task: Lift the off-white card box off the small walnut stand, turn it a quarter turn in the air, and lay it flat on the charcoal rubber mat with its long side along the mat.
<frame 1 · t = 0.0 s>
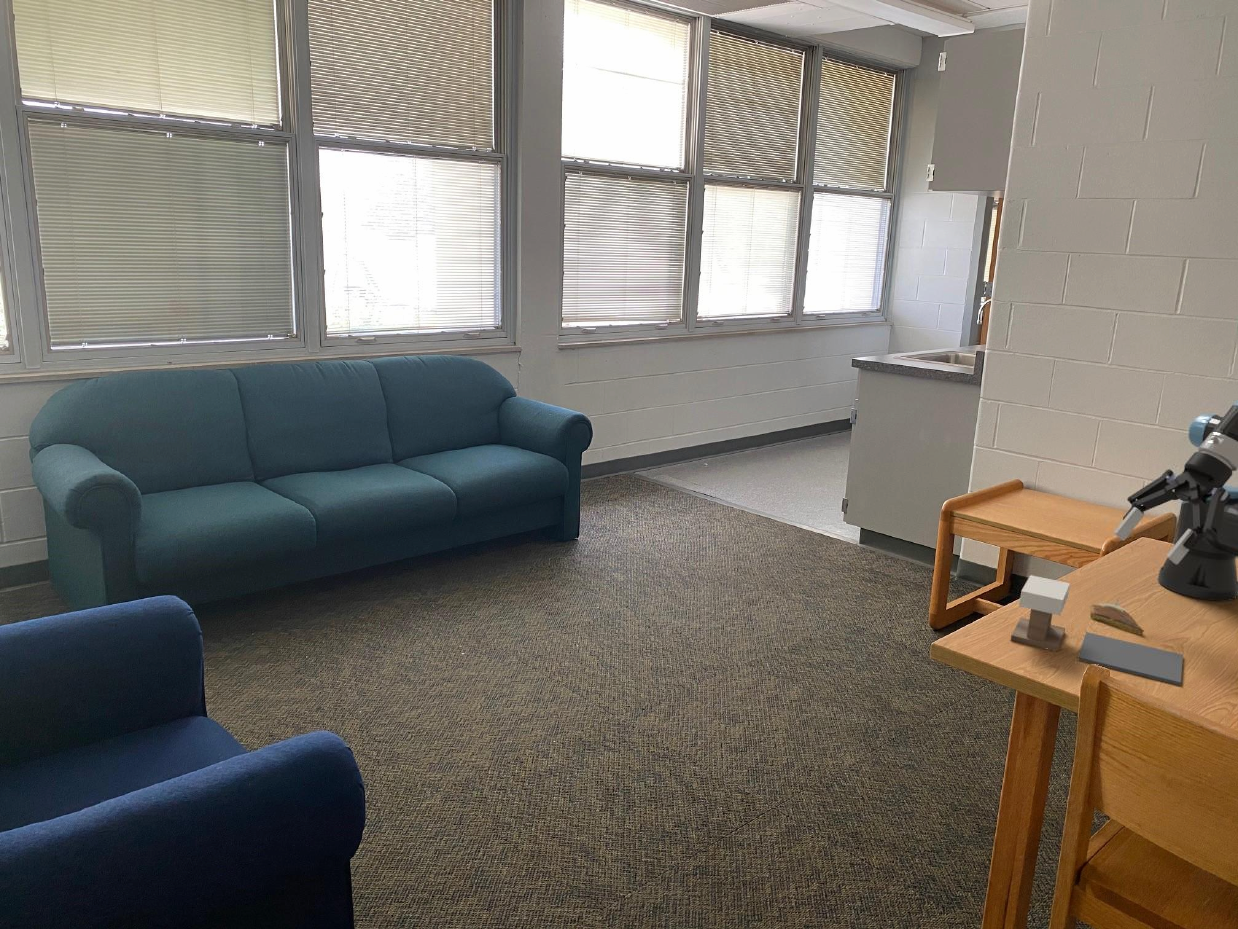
hand: (1144, 548, 181), 15 cm above the table, tool tilted 35°, fingers open, 13 cm apart
card box: (1043, 602, 174), point 7 cm above the table, touching walnut stand
rubber mat: (1130, 658, 168), on the table
sign: (1115, 606, 193), on the table, touching shard
shard: (1119, 623, 185), on the table, touching sign
walnut stand: (1037, 636, 176), on the table
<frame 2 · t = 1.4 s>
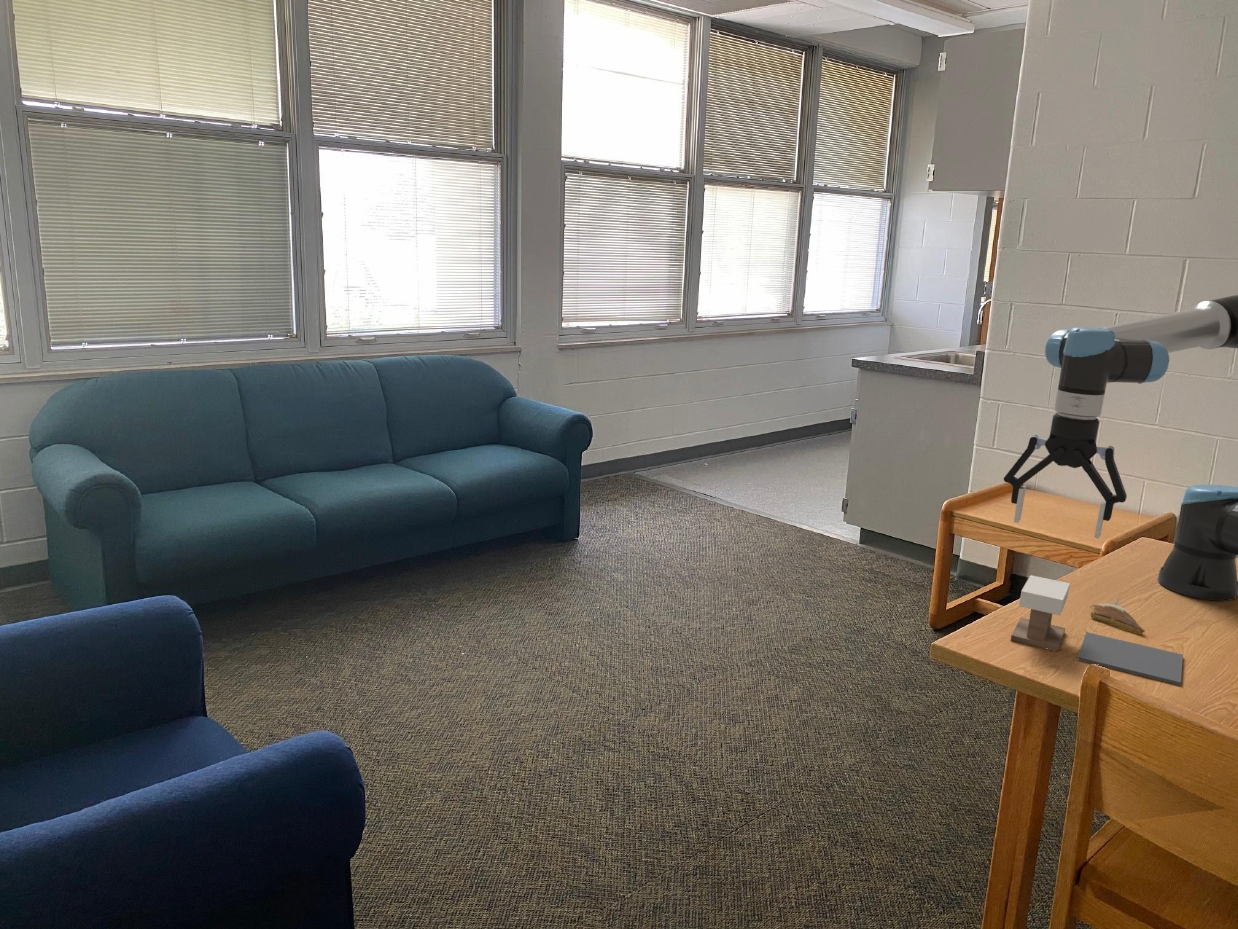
hand: (1056, 528, 170), 21 cm above the table, tool pointing down, fingers open, 13 cm apart
sign: (1115, 606, 193), on the table
shard: (1119, 623, 184), on the table
everything else where it was.
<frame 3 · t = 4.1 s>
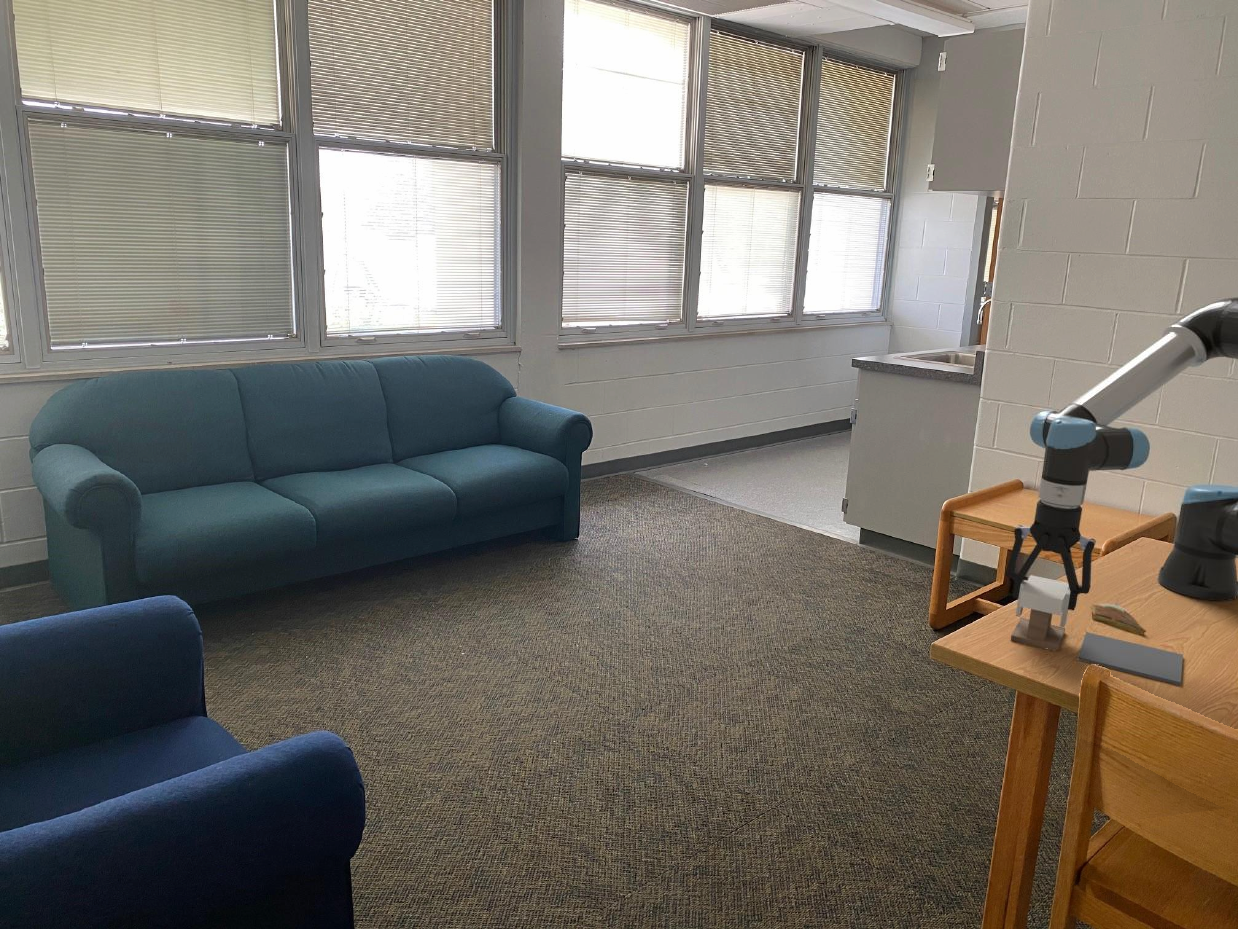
hand: (1040, 619, 175), 4 cm above the table, tool pointing down, fingers closed on card box, 7 cm apart
card box: (1043, 602, 174), point 7 cm above the table, touching gripper, walnut stand
sign: (1115, 606, 193), on the table, touching shard
shard: (1120, 623, 184), on the table, touching sign
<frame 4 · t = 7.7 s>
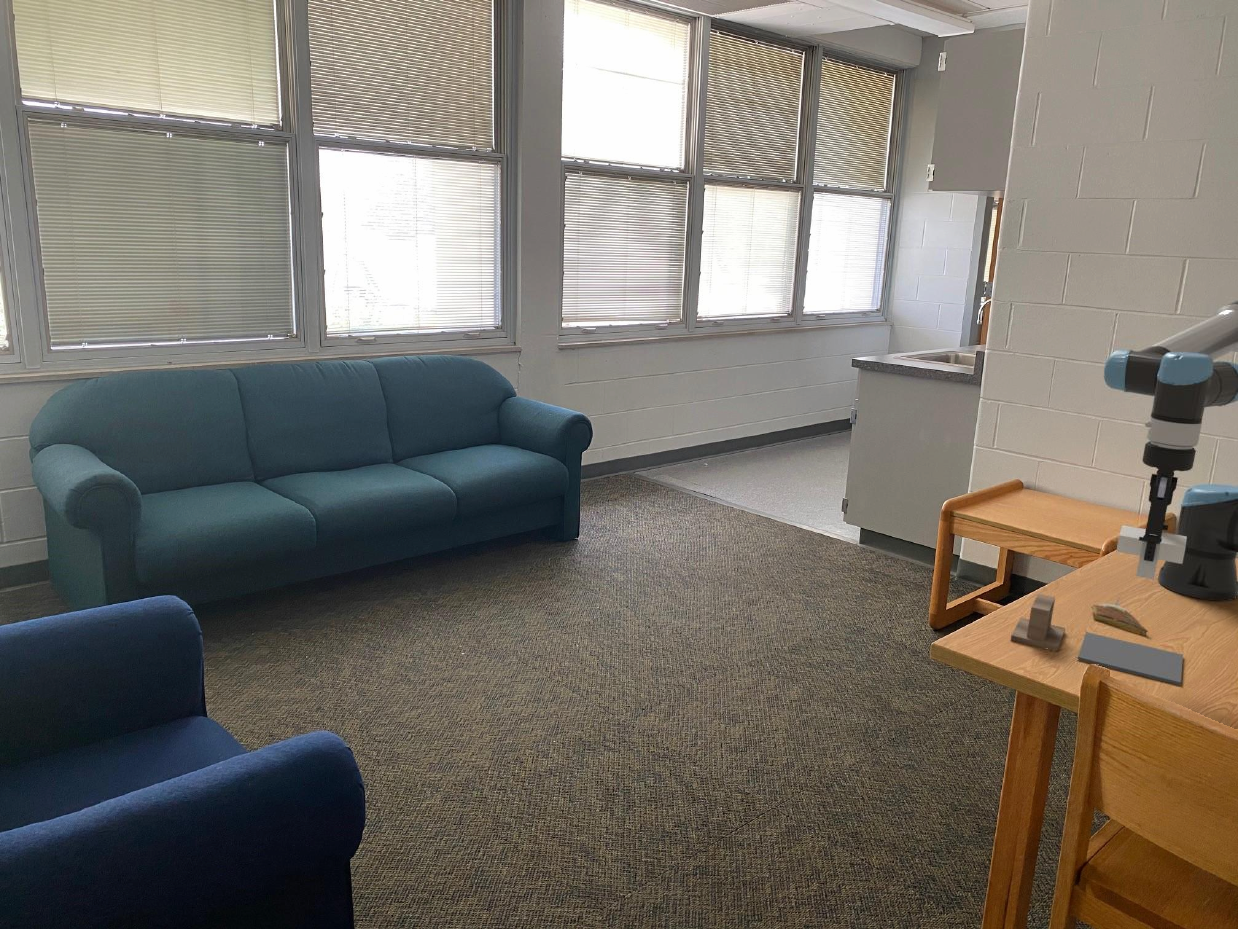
hand: (1146, 570, 163), 17 cm above the table, tool pointing down, fingers closed on card box, 7 cm apart
card box: (1149, 552, 163), point 20 cm above the table, touching gripper
sign: (1116, 606, 193), on the table
shard: (1121, 623, 184), on the table
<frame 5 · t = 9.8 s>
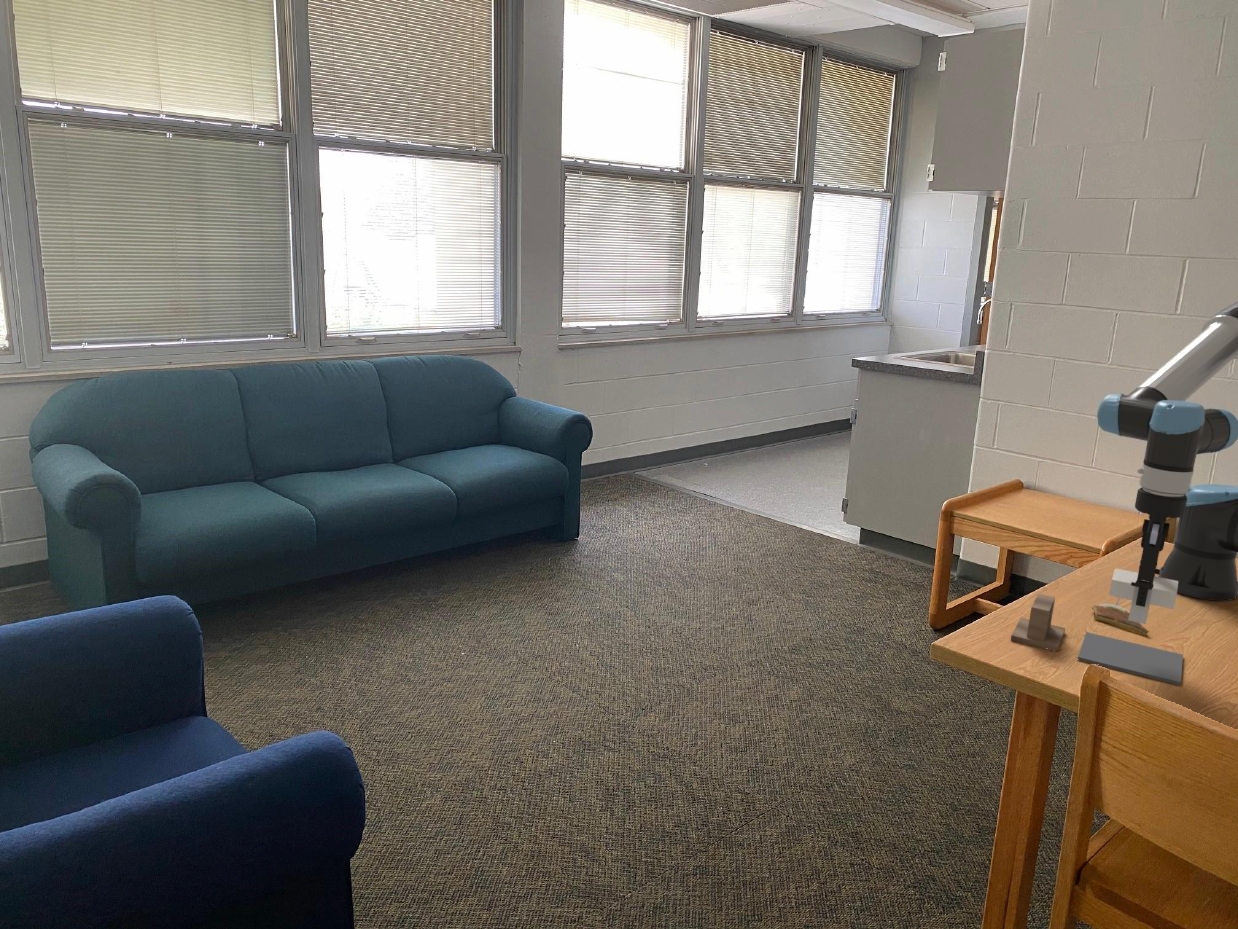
hand: (1138, 614, 165), 9 cm above the table, tool pointing down, fingers closed on card box, 7 cm apart
card box: (1141, 596, 164), point 12 cm above the table, touching gripper
sign: (1116, 606, 193), on the table, touching shard
shard: (1122, 624, 184), on the table, touching sign
when the fingers open (3 cm above the table, at t = 11.7 s): card box drops 5 cm, resting on rubber mat.
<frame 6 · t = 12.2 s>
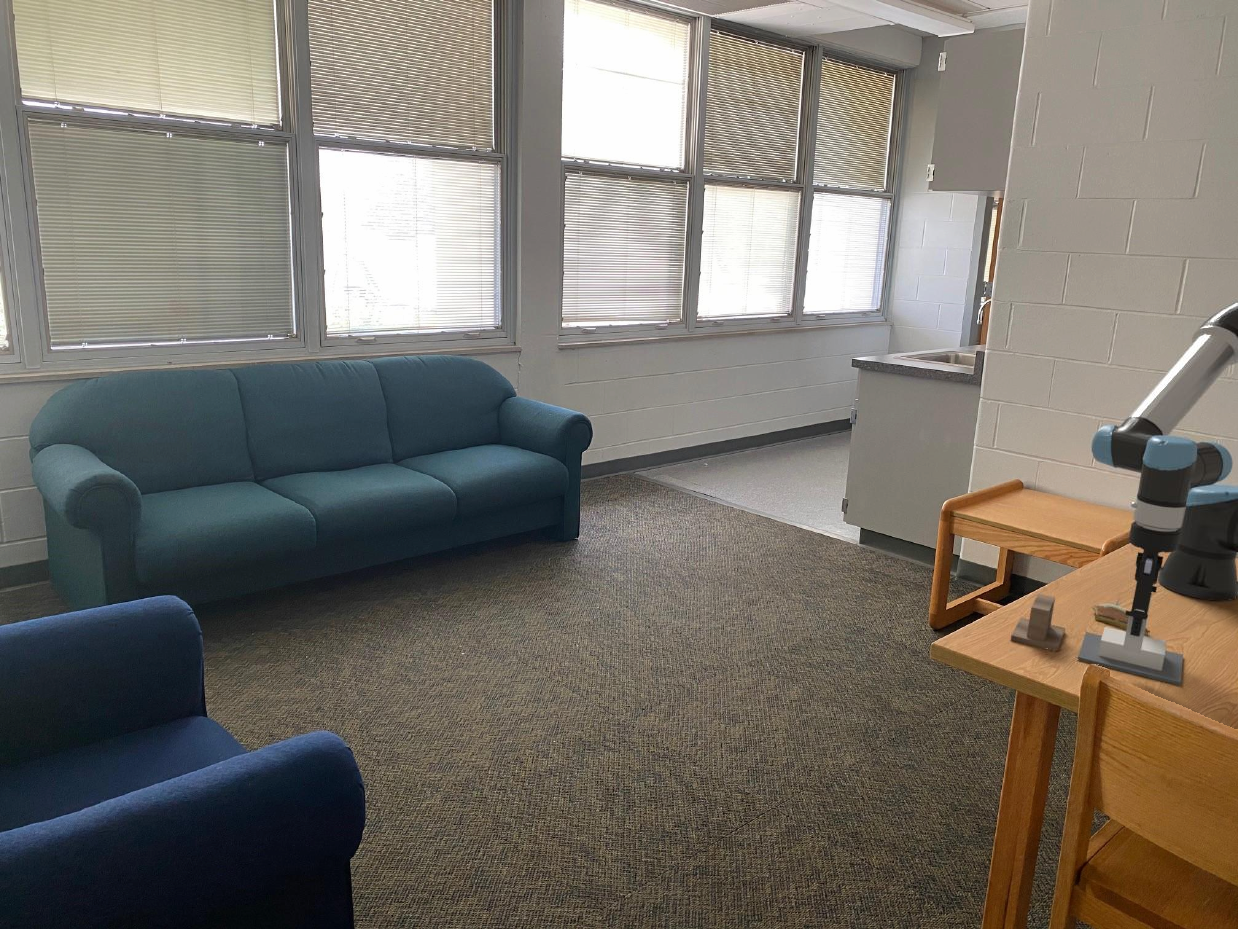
hand: (1134, 637, 167), 4 cm above the table, tool pointing down, fingers open, 13 cm apart
card box: (1130, 655, 168), point 1 cm above the table, touching rubber mat
everything else where it was.
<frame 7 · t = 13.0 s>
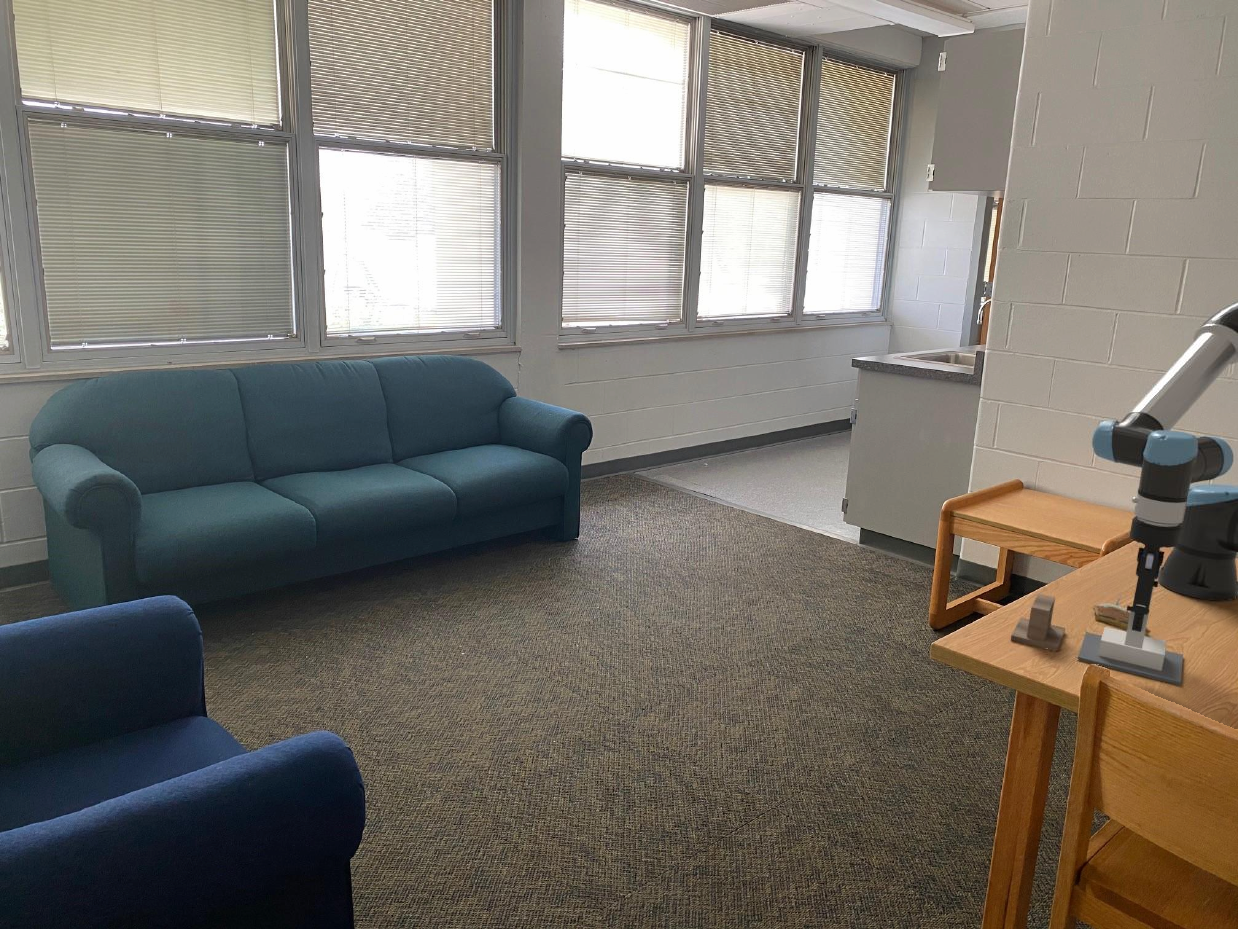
hand: (1136, 632, 166), 5 cm above the table, tool pointing down, fingers open, 13 cm apart
nothing on the table moved.
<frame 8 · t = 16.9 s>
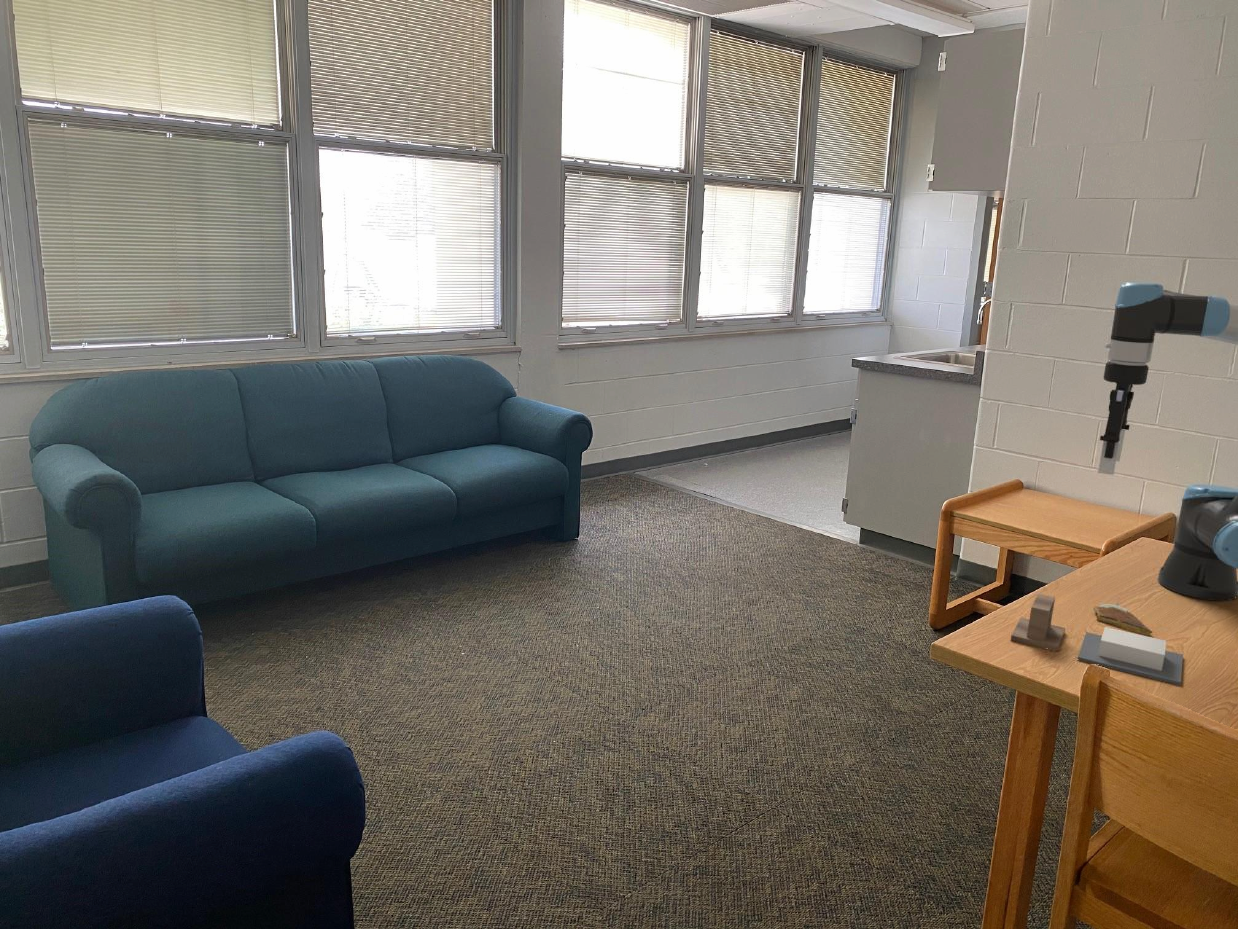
hand: (1109, 466, 188), 29 cm above the table, tool pointing down, fingers open, 13 cm apart
nothing on the table moved.
at the end: card box inside the target area on the rubber mat (0.0 cm from its centre), point 0.6 cm above the rubber mat's base; card box tilted 0°; the gripper is holding nothing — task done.
